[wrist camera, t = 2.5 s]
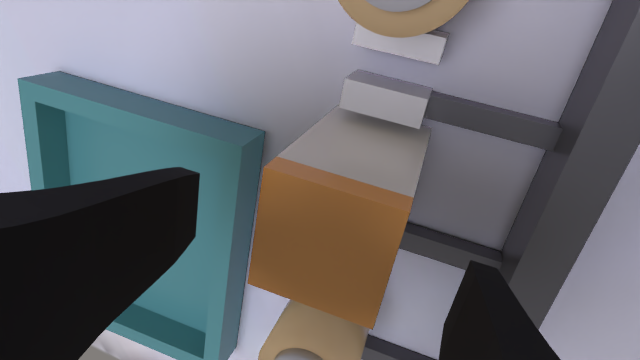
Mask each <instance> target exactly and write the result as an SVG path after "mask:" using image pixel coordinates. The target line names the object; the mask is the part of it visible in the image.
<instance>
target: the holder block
mask: <svg viewBox="0 0 640 360" xmlns="http://www.w3.org/2000/svg"><path fill="white" fill-rule="evenodd" d="M448 35H449V33H444V32H440V31H435V30H432V31H430V32H427V33H425V34H421V35H418V36H414V37H405V38H394V37H387V36H383V35H379V34H376V33H374V32H371V31H369V30H367V29H365V28H364V27H362V26H361V25H359V24H358V23H357V22H356V26H355V30H354V35H353V40H352V45H356V46H360V47H365V48H369V49H373V50H377V51H381V52H386V53H390V54H394V55H398V56H402V57H407V58H411V59H415V60H419V61H423V62H428V63H432V64H436V65H439V63H440V61H441V58H442V55H443V52H444V49H445V45H446V42H447V39H448ZM432 89H433V88H430V87H426V86H422V85H418V84H414V83H410V82H406V81H402V80H398V79H394V78H390V77H386V76H382V75H378V74H374V73H369V72H365V71H361V70H357V71H355V72H354V73H352V74H350V75H349V76H347V77H346V78H344V83H343V88H342V93H341V98H340V102H339V108H343V109H346V110H350V111H354V112H357V113H361V114H365V115H369V116H372V117H376V118H380V119H383V120H387V121H391V122H395V123H398V124H402V125H406V126H409V127H413V128H417V129H420V126H421V123H422V121H423V118H428V119H431V120H435V121H439V122H443V123H447V124H450V125H454V126H458V127H462V128H465V129H469V130H473V131H477V132H481V133H484V134H488V135H492V136H496V137H500V138H503V139H507V140H511V141H515V142H519V143H522V144H526V145H530V146H534V147H538V148H541V149H545V150H546V152H545V154H544V157H543V159H542V161H541V163H540V166H539V168H538V170H537V172H536V175H535V177H534V179H533V181H532V184H531V186H530V188H529V190H528V193H527V195H526V197H525V199H524V202H523V204H522V206H521V208H520V210H519V213H518V215H517V217H516V219H515V222H514V224H513V226H512V228H511V231H510V233H509V235H508V237H507V240H506V242H505V244H504V246H503V249H502V251H501V252H499V251H496V250H493V249H490V248H487V247H484V246H480V245H477V244H474V243H471V242H468V241H465V240H461V239H458V238H455V237H452V236H449V235H445V234H442V233H439V232H436V231H433V230H430V229H426V228H423V227H420V226H417V225H414V224H411V223H406V227H405V230H404V233H403V236H402V239H401V242H400V245H399V248H400V249H403V250H406V251H409V252H412V253H415V254H418V255H421V256H425V257H428V258H431V259H434V260H437V261H440V262H443V263H446V264H449V265H452V266H455V267H458V268H461V269H464V270H467V267H468V265H469V262H470V260H473V261H476V262H479V263H482V264H485V265H488V266H492V267H495V268H497V269H498V270H499V272H500V273H501V275H502V276H503V278H504V279H505V281H506V282H507V284H508V285H509V287H510V289H511V290H512V292H513V293H514V295H515V296H516V298H517V299H518V301H519V302H520V304H521V306H522V307H523V309H524V310H525V312H526V313H527V315H528V316H529V317H530V319H531V320H532V322H533V323H534V325H535V326H536V328H537V329H539V327H540V326H541V324H542V322H543V320H544V318H545V316H546V315H547V313H548V311H549V309H550V307H551V305H552V304H553V302H554V300H555V298H556V296H557V294H558V293H559V291H560V289H561V287H562V285H563V283H564V282H565V280H566V278H567V276H568V274H569V272H570V270H571V269H572V267H573V265H574V263H575V261H576V259H577V258H578V256H579V254H580V252H581V250H582V248H583V247H584V245H585V243H586V241H587V239H588V237H589V236H590V234H591V232H592V230H593V228H594V226H595V225H596V223H597V221H598V219H599V217H600V215H601V213H602V212H603V210H604V208H605V206H606V204H607V202H608V201H609V199H610V197H611V195H612V193H613V191H614V190H615V188H616V186H617V184H618V182H619V180H620V179H621V177H622V175H623V173H624V171H625V169H626V168H627V166H628V164H629V162H630V160H631V158H632V156H633V155H634V153H635V151H636V149H637V147H638V145H639V144H640V0H613V2H612V4H611V6H610V9H609V11H608V13H607V15H606V18H605V20H604V22H603V24H602V27H601V29H600V31H599V33H598V35H597V38H596V40H595V42H594V44H593V47H592V49H591V51H590V53H589V56H588V58H587V60H586V62H585V65H584V67H583V69H582V71H581V74H580V76H579V78H578V80H577V83H576V85H575V87H574V89H573V92H572V94H571V96H570V98H569V101H568V103H567V105H566V107H565V110H564V112H563V114H562V116H561V119H560V121H559V123H558V122H554V121H550V120H546V119H542V118H538V117H534V116H530V115H526V114H522V113H518V112H514V111H510V110H506V109H502V108H498V107H494V106H490V105H486V104H482V103H478V102H474V101H470V100H466V99H462V98H458V97H454V96H450V95H446V94H442V93H438V92H434V91H432ZM361 359H362V360H434V359H431V358H429V357H426V356H423V355H421V354H418V353H415V352H413V351H410V350H407V349H405V348H402V347H399V346H397V345H394V344H391V343H389V342H386V341H383V340H380V339H378V338H375V337H372V336H370V335H368V336H367V340H366V343H365V347H364V350H363V353H362V357H361Z"/></svg>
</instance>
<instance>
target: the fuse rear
mask: <svg viewBox="0 0 640 360" xmlns="http://www.w3.org/2000/svg"><path fill="white" fill-rule="evenodd" d="M369 330H370V329H369V328H366V327H364V326H361V325H358V324H356V323H353V322H350V321H348V320H345V319H342V318H339V317H337V316H334V315H331V314H329V313H326V312H323V311H321V310H318V309H315V308H312V307H310V306H307V305H304V304H302V303H299V302H296V301H293V300H291V299H290V300H289V302H288V304H287V306H286V307H285V309H284V311H283V312H282V314H281V316H280V317H279V319H278V321H277V323H276V324H275V326H274V328H273V329H272V331H271V333H270V334H269V336H268V338H267V339H266V341H265V343H264V345H263V346H262V348H261V350H260V352H259V356H258V360H361V357H362V353H363V350H364V347H365V343H366V340H367V336H368V333H369Z"/></svg>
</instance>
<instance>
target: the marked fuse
mask: <svg viewBox="0 0 640 360" xmlns="http://www.w3.org/2000/svg"><path fill="white" fill-rule="evenodd" d="M431 131H432V127H429V126H425V125H421V126H420V129H417V128H413V127H409V126H406V125H402V124H398V123H395V122H391V121H387V120H383V119H380V118H376V117H372V116H369V115H365V114H361V113H357V112H354V111H350V110H346V109H343V108H339V105H337V106H336V107H335V108H334V109H333V110H331V111H330V112H329V113H328V114H327V115H325V116H324V117H323V118H322V119H321V120H319V121H318V122H317V123H316V124H315V125H313V126H312V127H311V128H310V129H309V130H307V131H306V132H305V133H304V134H303V135H301V136H300V137H299V138H298V139H297V140H295V141H294V142H293V143H292V144H291V145H289V146H288V147H287V148H286V149H285V150H283V151H282V152H281V153H280V154H279V155H277V156H276V157H275V158H274V159H273V160H271V161H270V162H269V163H268V164H267V165H265V166H264V169H263V176H262V183H261V190H260V198H259V205H258V212H257V219H256V226H255V234H254V241H253V248H252V255H251V263H250V270H249V277H248V284H250V285H253V286H256V287H258V288H261V289H264V290H266V291H269V292H272V293H275V294H277V295H280V296H283V297H285V298H288V299H291V300H293V301H296V302H299V303H302V304H304V305H307V306H310V307H312V308H315V309H318V310H321V311H323V312H326V313H329V314H331V315H334V316H337V317H339V318H342V319H345V320H348V321H350V322H353V323H356V324H358V325H361V326H364V327H366V328H369V329H372V330H373V327H374V324H375V321H376V318H377V315H378V311H379V308H380V305H381V302H382V299H383V296H384V293H385V289H386V286H387V283H388V280H389V277H390V274H391V271H392V267H393V264H394V261H395V258H396V255H397V252H398V249H399V245H400V242H401V239H402V236H403V233H404V230H405V227H406V223H407V220H408V217H409V214H410V211H411V207H412V203H413V199H414V195H415V191H416V188H417V184H418V180H419V176H420V172H421V169H422V165H423V161H424V157H425V153H426V150H427V146H428V142H429V138H430V134H431Z"/></svg>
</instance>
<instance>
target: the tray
mask: <svg viewBox="0 0 640 360" xmlns="http://www.w3.org/2000/svg"><path fill="white" fill-rule="evenodd" d="M18 85H19V94H20V102H21V110H22V118H23V126H24V134H25V142H26V150H27V158H28V166H29V174H30V183H31V190H40V189H49V188H56V187H63V186H69V185H75V184H81V183H87V182H93V181H100V180H105V179H110V178H115V177H121V176H126V175H131V174H136V173H141V172H147V171H152V170H158V169H164V168H172V167H182V168H185V169H188V170H192V171H195V172H198V173H200V181H199V196H198V211H197V225H196V237H195V238H194V240H193V241H192V242H191V244H190V245H189V246H188V247H187V249H186V250H185V251H184V253H183V254H182V255H181V256H180V257H179V259H178V260H177V261H176V262H175V264H174V265H173V266H172V267H171V268H169V269H168V270H167V271H166V272H165V273H164V274H163V275H162V276H161V277H160V278H159V279H158V280H157V281H156V282H155V283H154V284H153V285H152V286H151V287H149V288H148V289H147V290H146V291H145V292H144V293H143V294H142V295H141V296H140V297H139V298H138V299H137V300H136V301H134V302H133V303H132V304H131V305H130V306H129V307H128V308H127V309H126V310H125V311H124V312H123V313H122V314H120V315H119V316H118V317H117V318H116V319H115V320H114V321H113V322H112V323H111V324H110V325H109V326H108V327H107V328H106V330H109V331H111V332H114V333H116V334H118V335H121V336H123V337H125V338H128V339H130V340H132V341H135V342H137V343H139V344H142V345H144V346H146V347H149V348H151V349H154V350H156V351H158V352H161V353H163V354H165V355H168V356H170V357H172V358H175V359H177V360H228V358H229V357H230V355H231V354H232V352H233V351H234V349H235V348H236V344H237V337H238V329H239V322H240V314H241V307H242V300H243V292H244V285H245V277H246V270H247V263H248V255H249V248H250V240H251V233H252V225H253V218H254V211H255V203H256V196H257V188H258V181H259V174H260V166H261V159H262V151H263V144H264V137H265V131H262V130H259V129H255V128H252V127H248V126H245V125H241V124H238V123H235V122H231V121H228V120H224V119H221V118H217V117H214V116H211V115H207V114H204V113H200V112H197V111H193V110H190V109H187V108H183V107H180V106H176V105H173V104H169V103H166V102H163V101H159V100H156V99H152V98H149V97H145V96H142V95H139V94H135V93H132V92H128V91H125V90H121V89H118V88H115V87H111V86H108V85H104V84H101V83H97V82H94V81H91V80H87V79H84V78H80V77H77V76H73V75H70V74H67V73H63V72H60V71H57V72H51V73H46V74H40V75H35V76H29V77H23V78H18Z"/></svg>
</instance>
